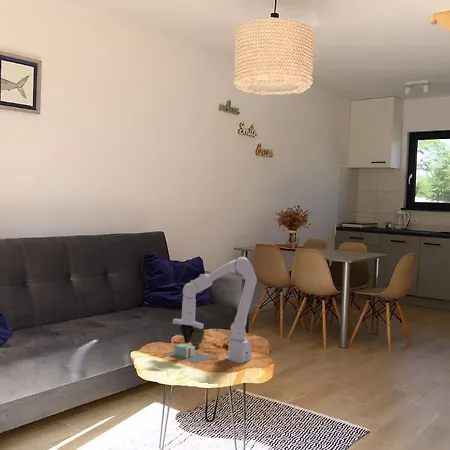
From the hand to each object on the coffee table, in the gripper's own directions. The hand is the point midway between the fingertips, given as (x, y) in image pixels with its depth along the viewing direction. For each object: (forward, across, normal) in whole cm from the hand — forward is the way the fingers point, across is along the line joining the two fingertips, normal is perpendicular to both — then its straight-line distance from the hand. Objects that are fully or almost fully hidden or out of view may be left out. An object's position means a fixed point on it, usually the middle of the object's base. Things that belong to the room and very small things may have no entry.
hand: (187, 342), depth 234 cm
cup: (+6, +5, -15) cm, 17 cm away
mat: (+6, -1, -1) cm, 6 cm away
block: (+4, -2, 0) cm, 5 cm away
